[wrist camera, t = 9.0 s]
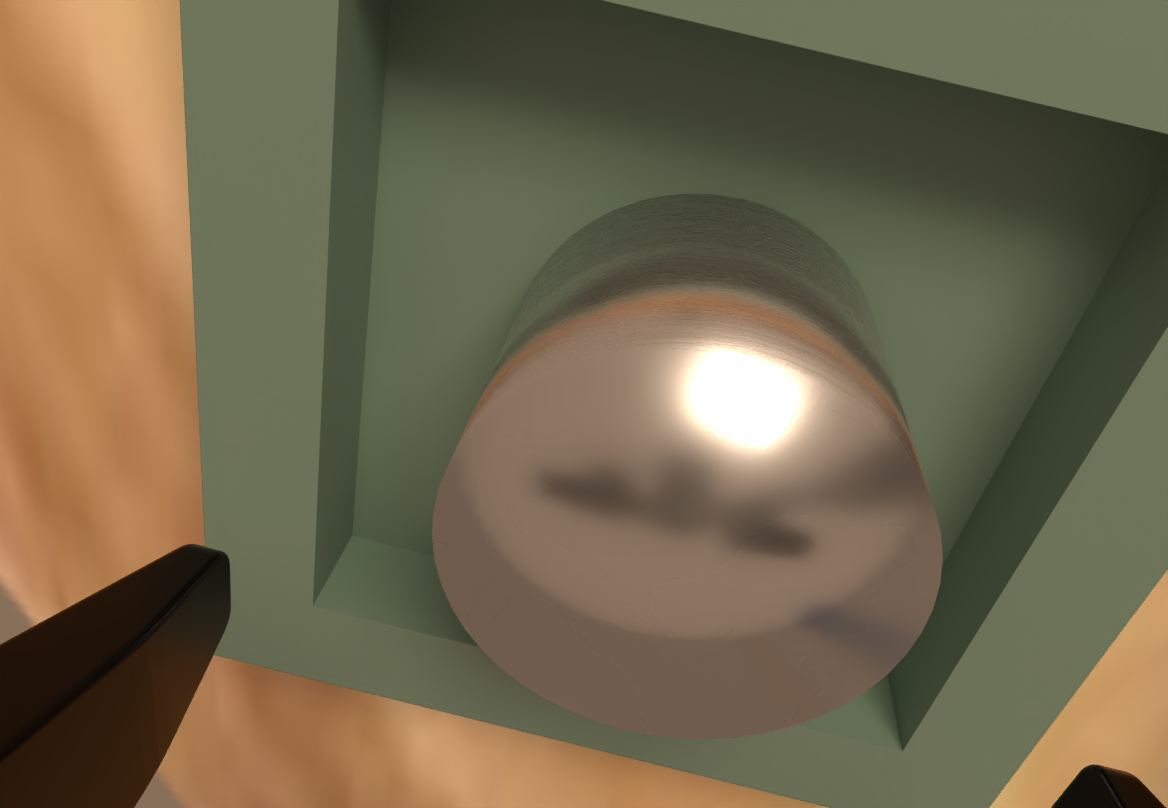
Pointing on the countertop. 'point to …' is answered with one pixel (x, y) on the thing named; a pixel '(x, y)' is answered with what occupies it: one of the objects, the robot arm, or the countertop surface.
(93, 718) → the robot arm
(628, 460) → the silver rounded cylinder
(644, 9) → the socket frame
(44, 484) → the countertop surface
